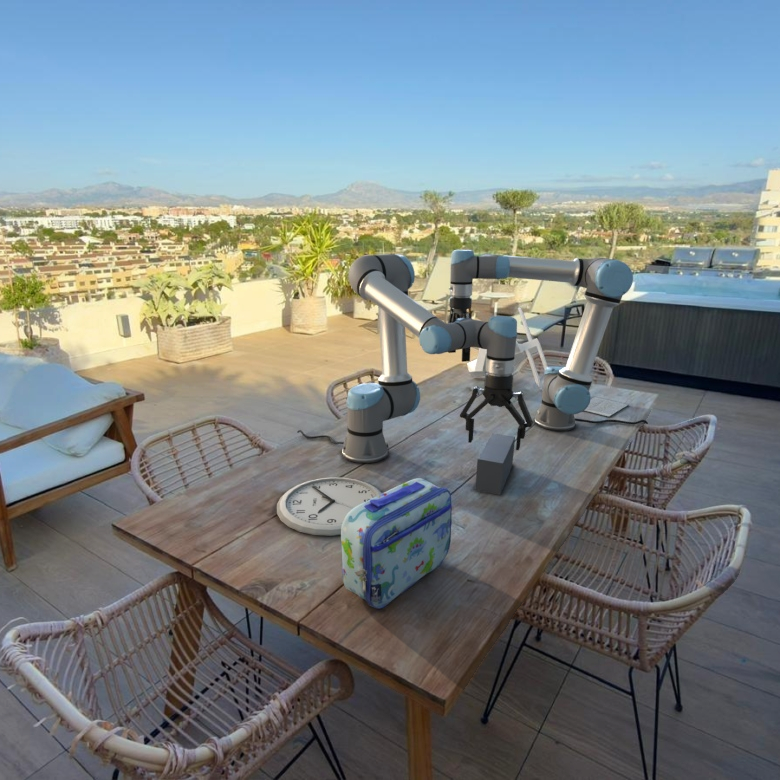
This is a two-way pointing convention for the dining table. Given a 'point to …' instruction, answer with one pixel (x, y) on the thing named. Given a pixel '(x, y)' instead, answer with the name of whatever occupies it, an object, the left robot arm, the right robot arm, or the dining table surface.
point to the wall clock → (323, 504)
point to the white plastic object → (521, 351)
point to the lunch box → (395, 540)
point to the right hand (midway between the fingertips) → (458, 356)
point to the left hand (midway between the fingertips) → (493, 444)
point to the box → (495, 463)
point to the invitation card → (604, 406)
